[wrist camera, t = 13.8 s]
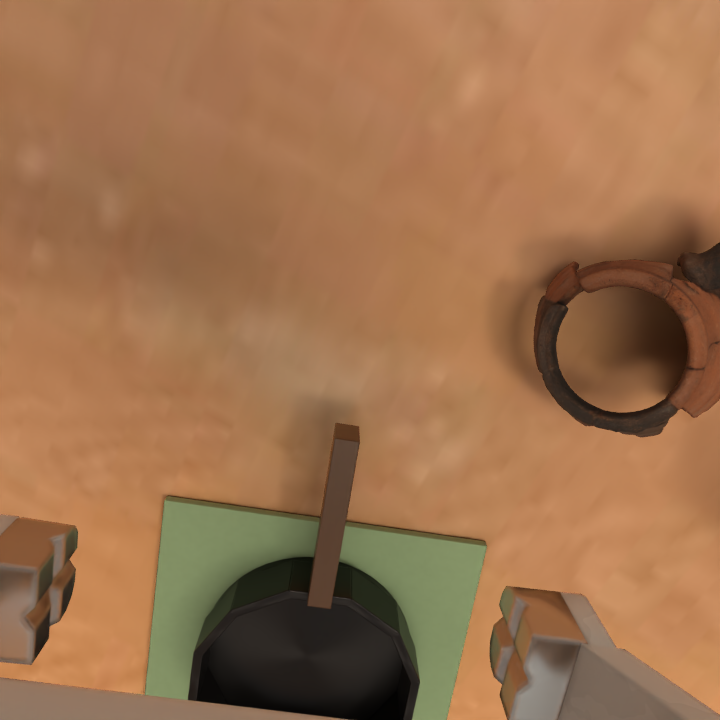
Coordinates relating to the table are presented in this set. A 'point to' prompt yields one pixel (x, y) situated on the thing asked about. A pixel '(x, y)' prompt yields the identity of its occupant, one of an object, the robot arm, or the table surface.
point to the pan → (311, 628)
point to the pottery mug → (687, 299)
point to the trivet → (298, 539)
